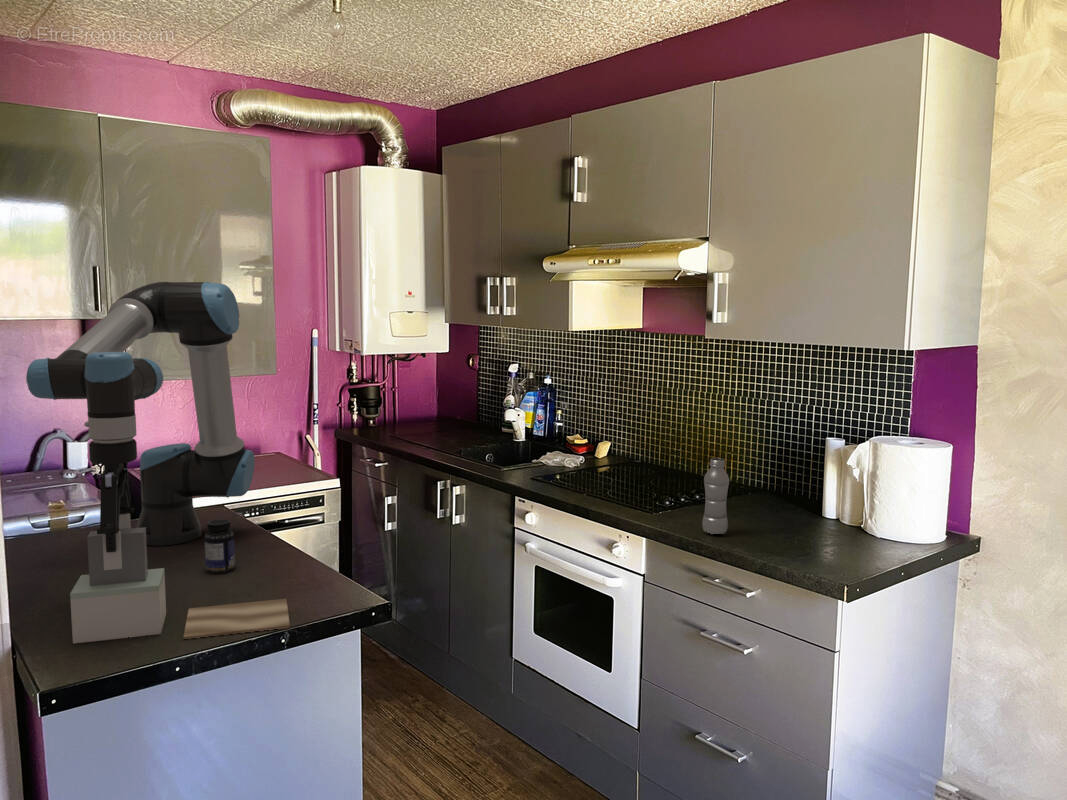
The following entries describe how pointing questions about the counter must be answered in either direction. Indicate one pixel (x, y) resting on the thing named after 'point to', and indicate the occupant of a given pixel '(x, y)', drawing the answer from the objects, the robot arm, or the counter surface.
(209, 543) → the pill bottle
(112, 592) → the green base grey block
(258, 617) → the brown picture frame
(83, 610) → the storage box
